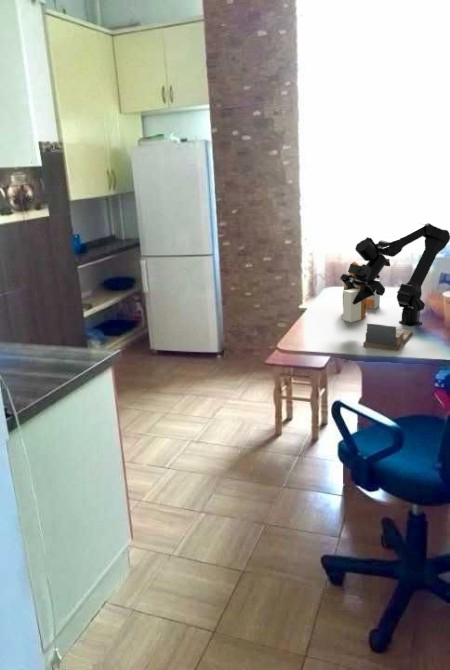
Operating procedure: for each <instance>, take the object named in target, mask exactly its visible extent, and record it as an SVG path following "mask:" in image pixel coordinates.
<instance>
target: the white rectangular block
mask: <svg viewBox="0 0 450 670" xmlns="http://www.w3.org/2000/svg"><path fill="white" fill-rule="evenodd" d="M343 291H344V296H343V295H342V309H343V310H342V311H343V313H342V319H343V320H344V321H347V322H350V323H352V322H356V321H360V320H362V319H361V301H360V302H359V303H357V304H355V305H354V304H353V301H354V299H355V297H356V296H357V294H358V293H359V291H360V290H358V289H349V290H344V289H343Z"/></svg>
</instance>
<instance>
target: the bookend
mask: <svg viewBox="0 0 450 670" xmlns="http://www.w3.org/2000/svg"><path fill="white" fill-rule="evenodd" d="M396 329H397V326H396V325H387V324H378V323H372V322H371V323H369V322H367V323H366V333H367V343H374V344H382V345H389V346H395V344H396Z"/></svg>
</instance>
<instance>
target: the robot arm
mask: <svg viewBox="0 0 450 670" xmlns="http://www.w3.org/2000/svg"><path fill="white" fill-rule="evenodd" d="M422 237H423V238H425V239H424V250H423V252H422V255H421V256H420V258H419V259H418V260H419V261H418V262H417V265H416V267H415V268H414V270H413V272H412V275H411V277H410V279H409V281H408V282H406V283H401V285H400V287H399V289H398V290H397V292H396V294H397V295H396V299H397V302H398V306H399V307H400V308H402V312H401V320H399V321H398V323H400V324H403V325H405V326H409V327H412V326H417V325H421V324H423V321H420V315H421V312H422V310H424V309H425V307H426V303H425V302H424V301H423V300H422V299H421V298H422V295H423V294H422V286H423V284H424V281H425V279H426V278H427V276H428V273H429V271H430V270H431V268H432V265H433V264H434V261H435V260H436V258H437V256H438V254H439V253H440V252H441V251H442V250H444V249H445V248H446V247H447V245H448V243H449V242H450V232H449V231H448V230H447V229H442V228H439V227H437V226H434V225H433V224H431V223H429V222H419V223H418V224H416V225H415V226H413V227H411V228H410V229H408V230H406V231H403V232H402V233H400V234H398V235H396V236H393V237H392V236H391V237H386V238H383V239H380V240H379V241H378V242H377V243H375V241H374V240H373V238H372V237H368V236H366V238H365V239H363V240H361V241H359V242H358V243H357V244H356V246H355V248H354V249H355V251H356V253H357V254H358V255H359V256H360V257H361V258H362V259H363V260H364V261H366V262H367V263H366V264H361V265H359V264H358V265H355V264H352V263H350V264H349V266H348V271H347V272H348V273H342V274H341V276H340V277H339V279H340V280H341V282H343V284H344V285H346V286H347V287H348V288H347V290H349V289H357V286H361V287H360V291H359V293H358V294H357V296H356V297H355V299H354V301H353V304H354V305H355V304H357V303H359V302H360V301H362V300H364V299H366V298H368V297H370V296H372V295H373V296H374V292H375V290H377V291H376V294H377V295H380V297H382V296H383V295H384V294H385V292H386V287H385V286H384V285H383V284H382V283H380V282H379V281H376V280H379V279H380V277H381V276H380V275H379V274H380V273H381V271H382V270H383V268H384V267H391V262H390V259H389V258H386V257H391V258H392V257H395V256H397V255H399V253H401V252H402V250H403V248H405V246H407V245H410V244H412V243H413V242H415V241H417V240H419V239H420V238H422ZM349 273H353V274H355V275H354V276H355V277H356V278H357V280H356V279H355V278H354V277H353V276H352V275H350V274H349Z"/></svg>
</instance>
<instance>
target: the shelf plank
mask: <svg viewBox="0 0 450 670" xmlns="http://www.w3.org/2000/svg"><path fill="white" fill-rule="evenodd" d="M412 336H413V330H410V329H402V328H396V344H395V346H389V345H382V344H374V343H367V332H366V333H365V339H364V342H362V344H363V347H365V348H366V347H367V348H372V349H379V350H380V349H381V350H386V349H387V350H386V351H393V352H394V351H395V352H398V351H399V350H400V349H401V348H402V346H404V344H405V343H406V342H407V341H408V340H409V339H410V338H411V337H412Z"/></svg>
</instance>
